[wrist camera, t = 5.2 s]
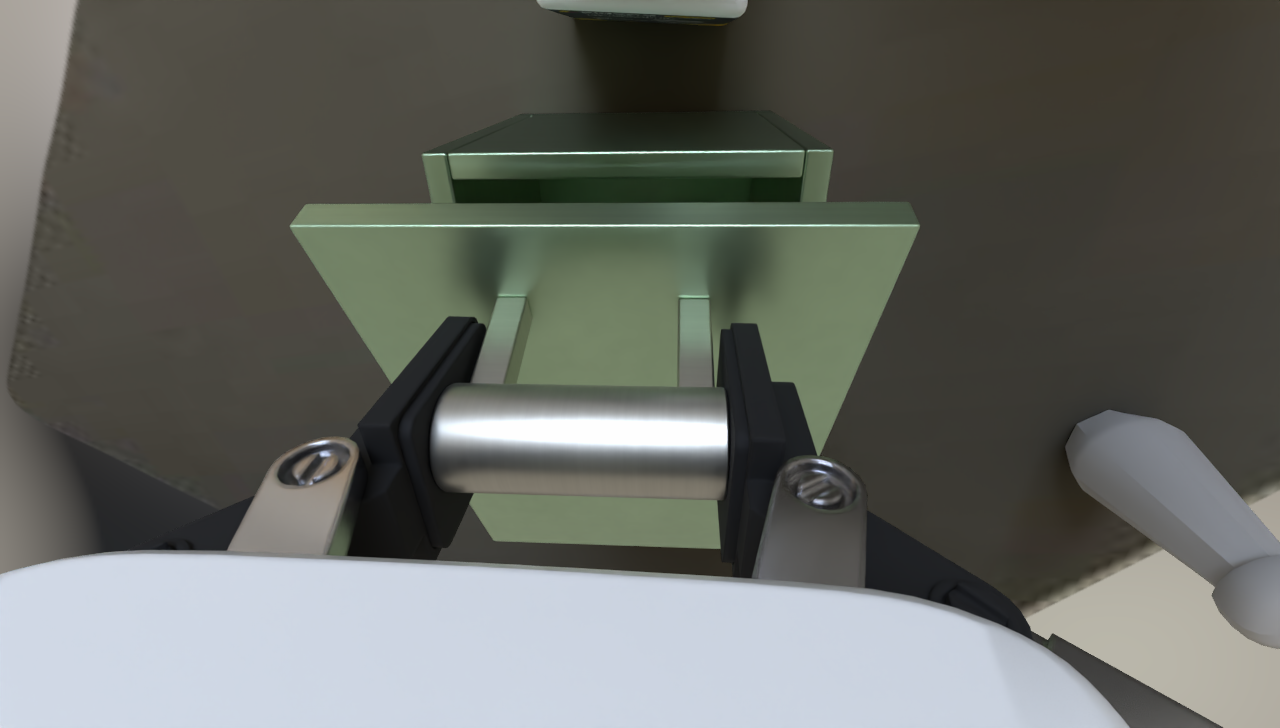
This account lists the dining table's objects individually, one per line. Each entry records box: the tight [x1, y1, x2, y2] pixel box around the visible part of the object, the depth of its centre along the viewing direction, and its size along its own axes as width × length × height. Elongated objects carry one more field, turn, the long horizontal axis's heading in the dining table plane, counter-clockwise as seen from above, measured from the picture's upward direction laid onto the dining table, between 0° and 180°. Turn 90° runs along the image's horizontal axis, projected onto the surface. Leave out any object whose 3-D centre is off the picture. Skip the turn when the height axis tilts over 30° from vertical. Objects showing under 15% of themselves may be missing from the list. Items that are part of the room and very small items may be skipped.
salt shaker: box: [1065, 410, 1280, 649], centre depth 28 cm, size 6×6×13 cm
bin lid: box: [290, 202, 920, 549], centre depth 15 cm, size 16×12×5 cm
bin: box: [422, 111, 834, 203], centre depth 25 cm, size 16×12×12 cm
